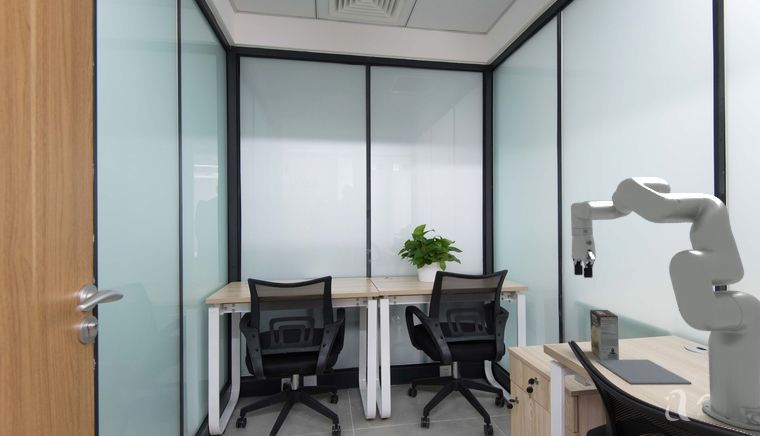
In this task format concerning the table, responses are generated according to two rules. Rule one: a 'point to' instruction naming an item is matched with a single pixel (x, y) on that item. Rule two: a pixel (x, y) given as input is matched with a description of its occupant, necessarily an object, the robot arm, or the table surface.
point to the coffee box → (604, 334)
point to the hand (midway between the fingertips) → (583, 275)
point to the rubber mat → (642, 372)
